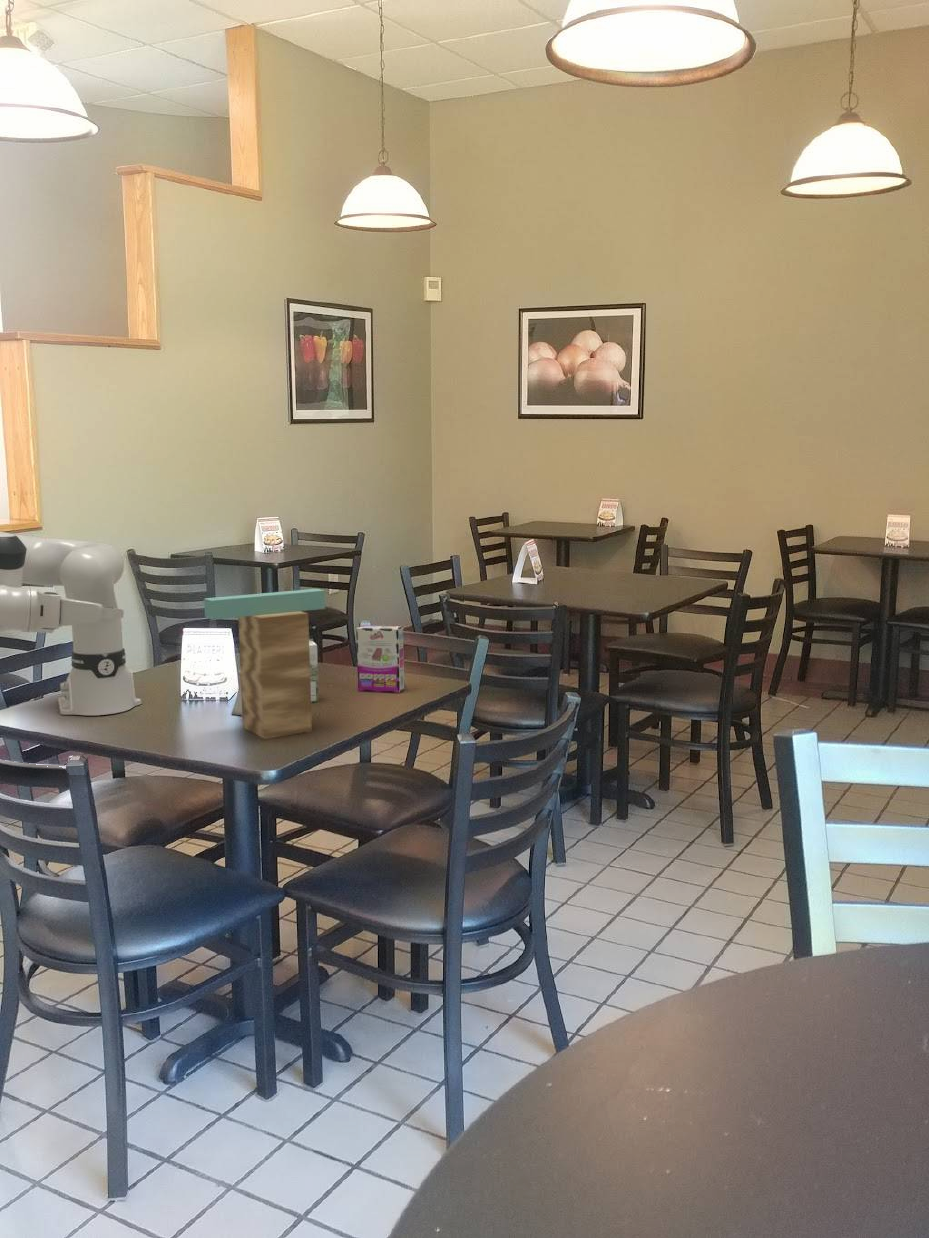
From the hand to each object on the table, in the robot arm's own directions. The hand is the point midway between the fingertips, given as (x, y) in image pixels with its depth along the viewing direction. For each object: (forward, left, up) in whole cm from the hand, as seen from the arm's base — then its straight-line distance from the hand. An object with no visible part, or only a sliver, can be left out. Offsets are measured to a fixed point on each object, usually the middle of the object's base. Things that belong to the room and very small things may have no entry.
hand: (118, 612), depth 217 cm
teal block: (0, +32, -3) cm, 32 cm away
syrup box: (-21, +50, -29) cm, 62 cm away
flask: (-18, +34, -29) cm, 48 cm away
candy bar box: (-20, +71, -29) cm, 79 cm away
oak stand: (0, +33, -29) cm, 44 cm away
